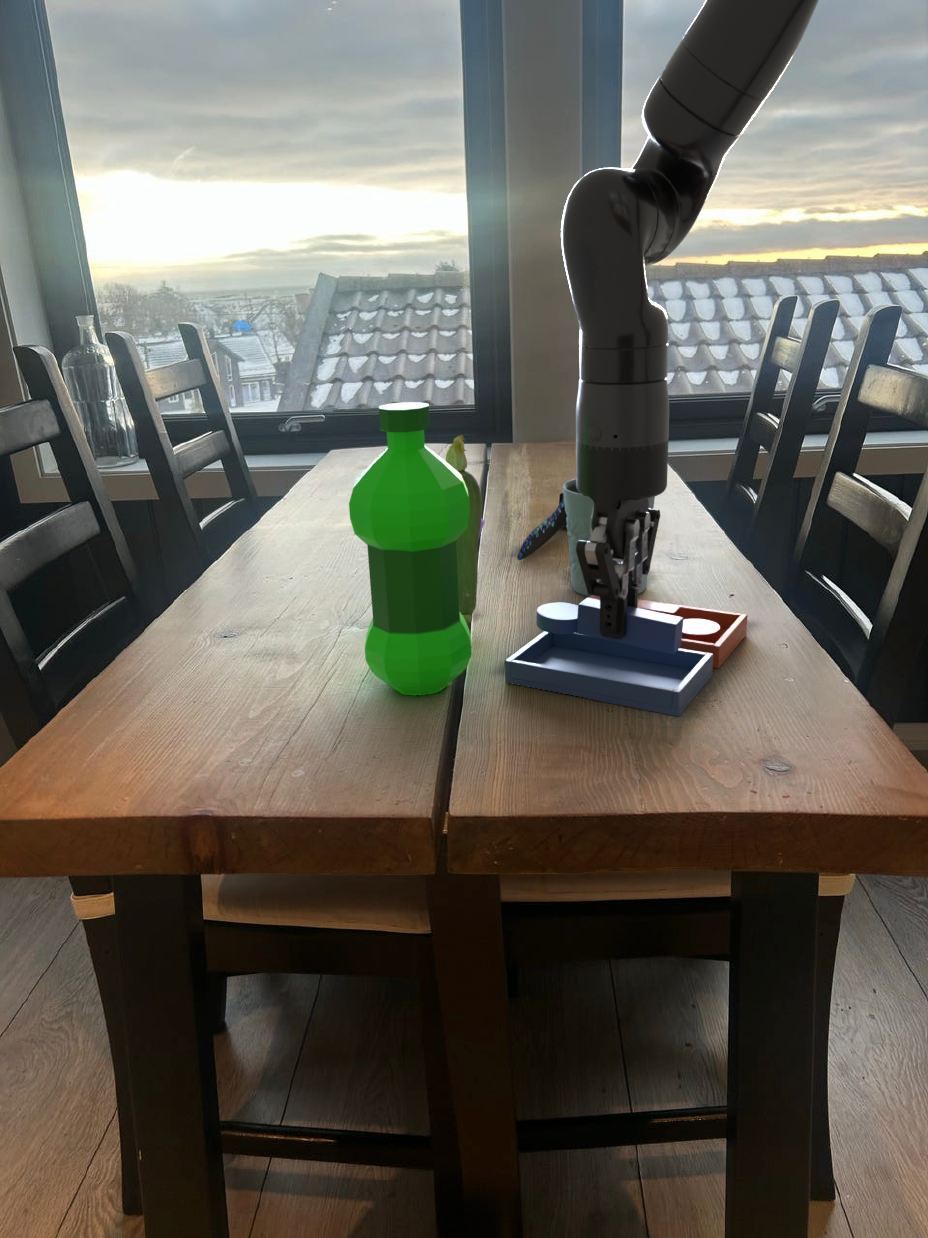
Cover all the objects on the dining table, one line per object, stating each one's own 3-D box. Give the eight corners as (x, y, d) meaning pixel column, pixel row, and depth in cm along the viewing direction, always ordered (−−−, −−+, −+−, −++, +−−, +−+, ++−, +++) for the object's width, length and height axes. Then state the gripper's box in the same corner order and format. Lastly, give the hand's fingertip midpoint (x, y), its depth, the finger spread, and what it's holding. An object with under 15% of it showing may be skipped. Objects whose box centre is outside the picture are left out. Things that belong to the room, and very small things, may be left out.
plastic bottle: (461, 712, 85) (447, 415, 76) (346, 702, 88) (320, 415, 79) (490, 666, 94) (481, 396, 85) (385, 658, 97) (365, 397, 88)
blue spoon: (685, 642, 87) (688, 612, 86) (668, 660, 84) (671, 629, 83) (549, 612, 94) (550, 584, 92) (527, 628, 90) (529, 599, 89)
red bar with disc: (582, 630, 100) (582, 604, 99) (599, 616, 104) (599, 591, 103) (711, 651, 94) (713, 623, 93) (725, 635, 97) (727, 608, 96)
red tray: (746, 635, 99) (747, 614, 98) (718, 668, 91) (719, 646, 91) (594, 612, 107) (594, 593, 106) (557, 641, 99) (557, 621, 98)
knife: (593, 496, 150) (591, 467, 148) (612, 498, 148) (611, 468, 146) (500, 575, 126) (496, 542, 124) (521, 578, 125) (518, 545, 123)
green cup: (658, 575, 117) (661, 474, 113) (646, 604, 108) (649, 495, 104) (573, 571, 120) (573, 472, 116) (555, 598, 111) (553, 492, 107)
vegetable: (443, 618, 107) (433, 430, 100) (483, 615, 107) (476, 428, 100) (446, 632, 103) (436, 438, 96) (488, 629, 103) (481, 435, 96)
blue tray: (712, 676, 90) (713, 653, 89) (678, 716, 82) (679, 692, 82) (549, 648, 98) (549, 627, 97) (505, 683, 90) (504, 660, 90)
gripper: (634, 453, 75) (629, 667, 81) (693, 423, 86) (685, 613, 92) (543, 447, 78) (545, 652, 84) (611, 419, 89) (609, 602, 95)
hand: (618, 631), depth 88 cm, fingers closed on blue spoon, 2 cm apart
